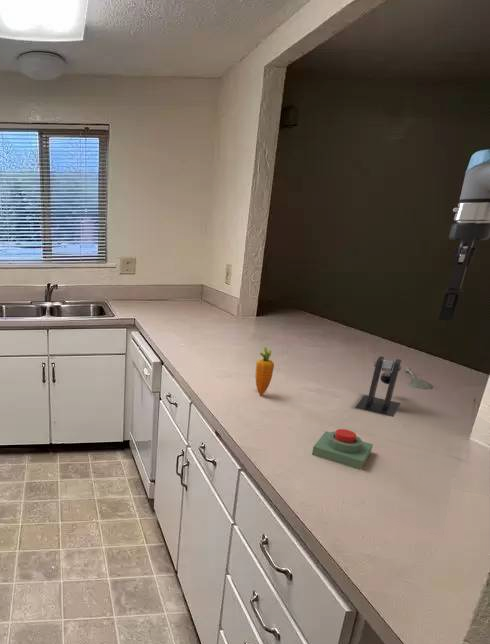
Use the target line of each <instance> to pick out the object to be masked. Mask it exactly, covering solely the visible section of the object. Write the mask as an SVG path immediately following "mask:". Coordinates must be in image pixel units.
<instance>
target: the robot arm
mask: <svg viewBox="0 0 490 644" xmlns="http://www.w3.org/2000/svg"><path fill="white" fill-rule="evenodd" d="M452 212H453V213H455V214H454V217H453V220H454V223H453V224H452V225H451V228H450V231H449V235H448V239H449V240H456V241H458V240H459V241H460V243H459V246H455V247H454V250H453V259H452V262H451V266H452V268H451V273H450V276H449V281H448V285H447V287H446V290H442V295H444V298H443V301H442V306H441V308H440V312H439V315H438V320H440V321H441V320H442V321H451V322H452V321H453V318H454V315H455V312H456V309H457V304H458V301H459V297H460V295H463V294H464V292H465V291H463V290H461V289H462V288H463V287H462V285H463V282H464V278H465V275H466V271H467V268H469V267H470V266H471V263H472V261H473V257H474V256H475V254H476V252H477V251H476V250H477V247H473V246H474V243H475V241H486V240H488V239H490V148H488V149H481V150H478V151H476V152H474V153H473V154H472V155H471V157H470V160H469V163H468V165H467V168H466V171H465V173H464V179H463V183H462V188H461V193H460V196H459V200H458V203H457V207H454V208H453V209H452Z"/></svg>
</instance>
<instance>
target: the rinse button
mask: <svg viewBox="0 0 490 644" xmlns="http://www.w3.org/2000/svg"><path fill="white" fill-rule="evenodd" d="M335 431H336V433H335V439H336V440H338V441H340V442H344V443H354V442H355V438H356V436H357V434H356V433H355V432H354V431H352V430H349V429H344V428H339V429H336V430H335Z"/></svg>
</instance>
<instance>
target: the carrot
mask: <svg viewBox="0 0 490 644" xmlns="http://www.w3.org/2000/svg"><path fill="white" fill-rule="evenodd" d="M263 351H264V352H262V351H260V352H259V353H258V354H259V355H260V356H261V357H262V358H261V359H258V360H257V361H256V363H255V386H256V391H257V393H258V394H259V396H262V395H264V394H265V392H267V389H268V388H269V386H270V384H271V381H272V377H273V373H274V369H275V368H274V366H275V362H273V360H271V359H270V357H271V354H272V350H271V349H269V350H268V348H267V346H265V347H263Z"/></svg>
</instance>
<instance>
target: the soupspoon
mask: <svg viewBox="0 0 490 644" xmlns="http://www.w3.org/2000/svg"><path fill="white" fill-rule="evenodd" d="M404 371H405V372H406V373H409V374H410V375H411V377H412V378H413V379H409V380H407V382H406V385H407V386H408V387H410V388H414V389H420V390H432V389H433V385H432V384H431V383H430V382H429V381H427V380H424V379H420V378H418V377H417V376H416V374H414V373H413V371H412V368H411V367H408V366H407V367H405V368H404Z"/></svg>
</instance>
